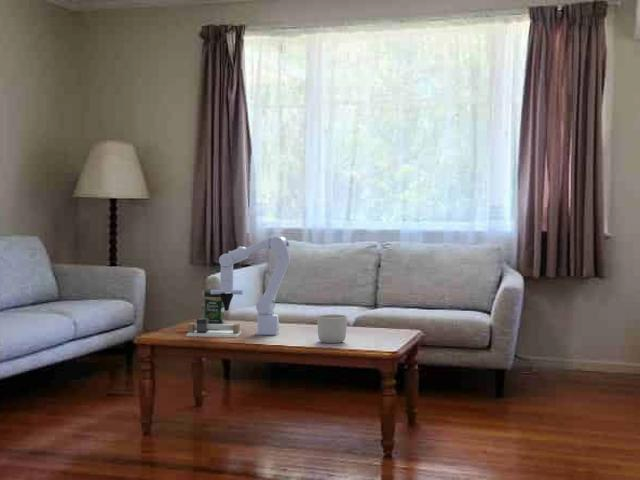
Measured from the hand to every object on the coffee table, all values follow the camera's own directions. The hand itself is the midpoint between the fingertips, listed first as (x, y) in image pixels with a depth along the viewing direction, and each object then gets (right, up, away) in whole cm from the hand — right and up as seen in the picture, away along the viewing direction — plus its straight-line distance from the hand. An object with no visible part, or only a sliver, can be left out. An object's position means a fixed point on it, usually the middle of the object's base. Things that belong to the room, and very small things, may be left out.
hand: (226, 310), depth 360 cm
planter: (+47, -11, -25) cm, 54 cm away
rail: (-5, -10, -7) cm, 13 cm away
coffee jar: (-7, -10, +12) cm, 17 cm away
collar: (-10, -9, -7) cm, 15 cm away
